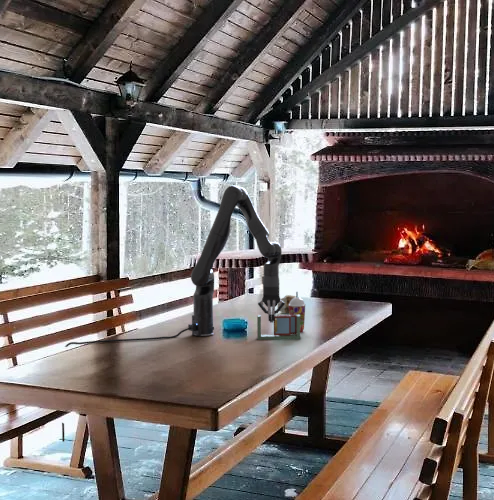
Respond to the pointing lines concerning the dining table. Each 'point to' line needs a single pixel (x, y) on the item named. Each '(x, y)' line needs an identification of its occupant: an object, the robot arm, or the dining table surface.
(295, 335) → the green double frame
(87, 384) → the dining table surface
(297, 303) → the smoothie
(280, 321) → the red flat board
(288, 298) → the stone
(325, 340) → the dining table surface
